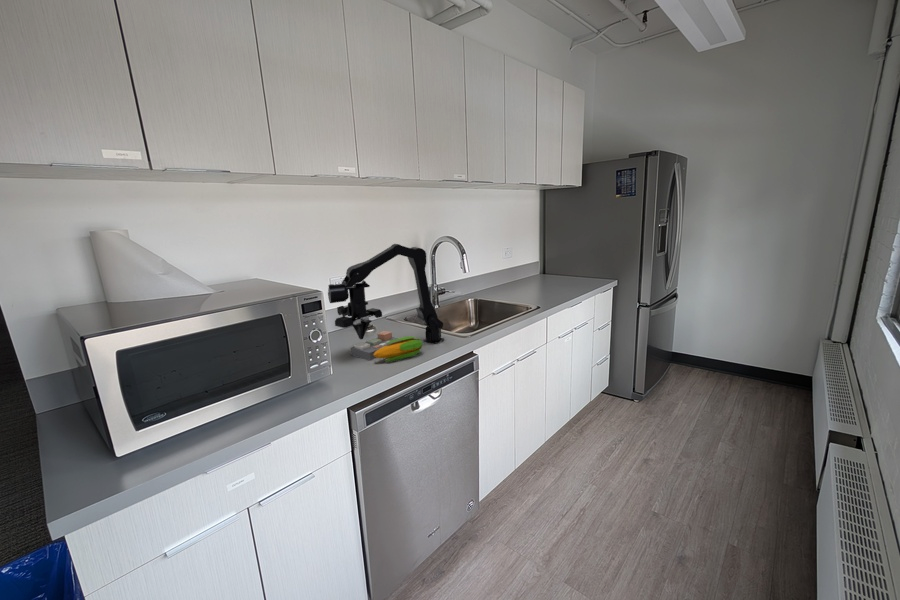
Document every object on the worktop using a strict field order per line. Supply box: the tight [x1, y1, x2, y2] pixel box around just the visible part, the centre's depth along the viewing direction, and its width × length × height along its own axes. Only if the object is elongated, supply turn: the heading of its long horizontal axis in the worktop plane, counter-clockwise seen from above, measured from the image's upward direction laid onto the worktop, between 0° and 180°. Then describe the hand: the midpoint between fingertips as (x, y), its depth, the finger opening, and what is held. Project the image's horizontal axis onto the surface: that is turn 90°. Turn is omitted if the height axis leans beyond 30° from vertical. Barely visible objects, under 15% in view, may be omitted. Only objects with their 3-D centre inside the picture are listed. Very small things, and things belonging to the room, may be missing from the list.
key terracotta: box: [376, 330, 393, 341], centre depth 165 cm, size 4×4×4 cm
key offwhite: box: [353, 342, 370, 350], centre depth 156 cm, size 4×4×4 cm
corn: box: [373, 336, 423, 362], centre depth 150 cm, size 7×8×20 cm
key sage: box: [365, 337, 382, 345], centre depth 160 cm, size 4×4×4 cm
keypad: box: [349, 336, 402, 361], centre depth 159 cm, size 18×11×3 cm, turn 143°
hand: (361, 339), depth 155 cm, fingers closed
